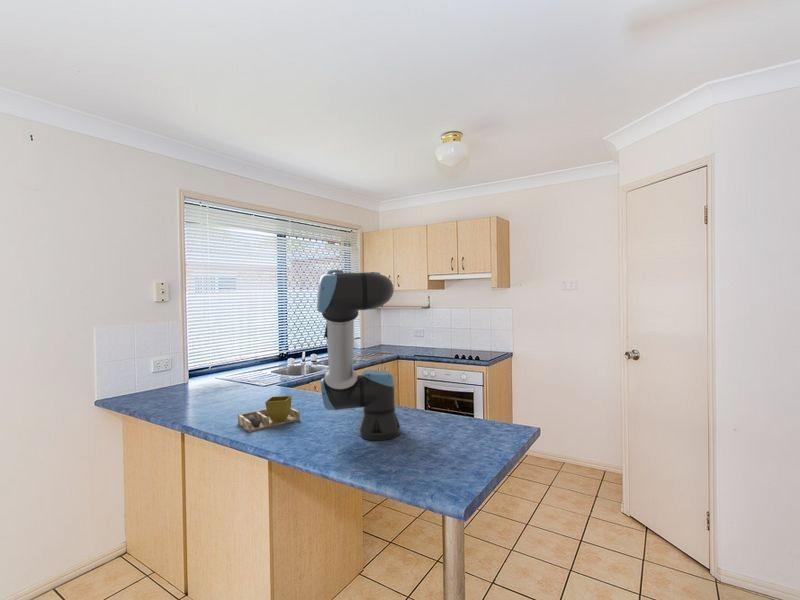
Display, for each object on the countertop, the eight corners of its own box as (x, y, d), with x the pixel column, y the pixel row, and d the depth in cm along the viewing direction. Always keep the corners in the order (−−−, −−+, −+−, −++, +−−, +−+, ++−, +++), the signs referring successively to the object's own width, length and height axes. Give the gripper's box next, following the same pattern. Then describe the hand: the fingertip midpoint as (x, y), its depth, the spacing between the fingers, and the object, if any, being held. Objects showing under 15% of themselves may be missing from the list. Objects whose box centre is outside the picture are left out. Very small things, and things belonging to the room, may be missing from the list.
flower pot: (265, 423, 163) (264, 401, 163) (272, 416, 172) (271, 396, 172) (286, 422, 163) (285, 400, 163) (292, 416, 172) (291, 395, 172)
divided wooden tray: (299, 420, 168) (299, 411, 168) (249, 432, 155) (248, 422, 155) (286, 413, 180) (285, 404, 180) (238, 423, 167) (237, 414, 167)
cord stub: (261, 426, 160) (261, 419, 160) (254, 427, 158) (254, 420, 158) (253, 420, 168) (252, 413, 168) (246, 421, 167) (246, 415, 167)
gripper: (358, 305, 164) (361, 356, 164) (330, 305, 184) (332, 351, 184) (343, 306, 159) (345, 358, 159) (315, 306, 179) (317, 353, 179)
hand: (338, 354), depth 172 cm, fingers open, 13 cm apart
